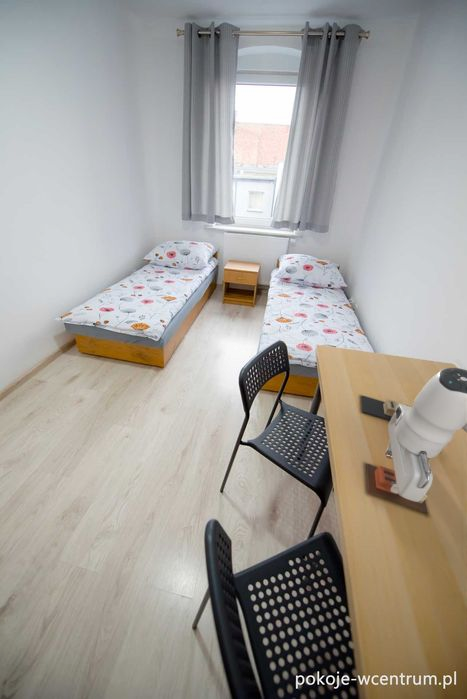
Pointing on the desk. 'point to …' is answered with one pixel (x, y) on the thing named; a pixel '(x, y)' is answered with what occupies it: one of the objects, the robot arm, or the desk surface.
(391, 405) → the tile
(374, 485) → the walnut board
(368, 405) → the felt mat
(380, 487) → the pause symbol tile
